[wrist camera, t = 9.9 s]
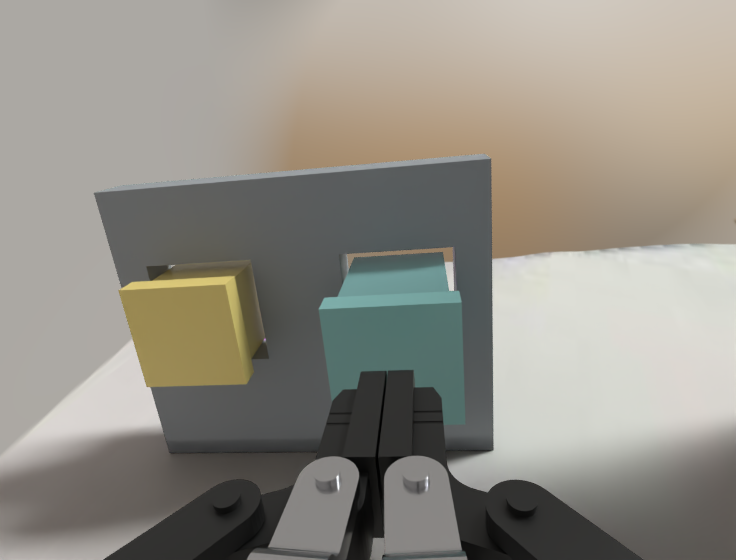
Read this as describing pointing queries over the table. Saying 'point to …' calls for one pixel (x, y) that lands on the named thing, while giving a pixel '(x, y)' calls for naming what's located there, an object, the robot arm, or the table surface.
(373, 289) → the teal button
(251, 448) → the panel
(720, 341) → the table surface
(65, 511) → the table surface
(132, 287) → the mustard button
